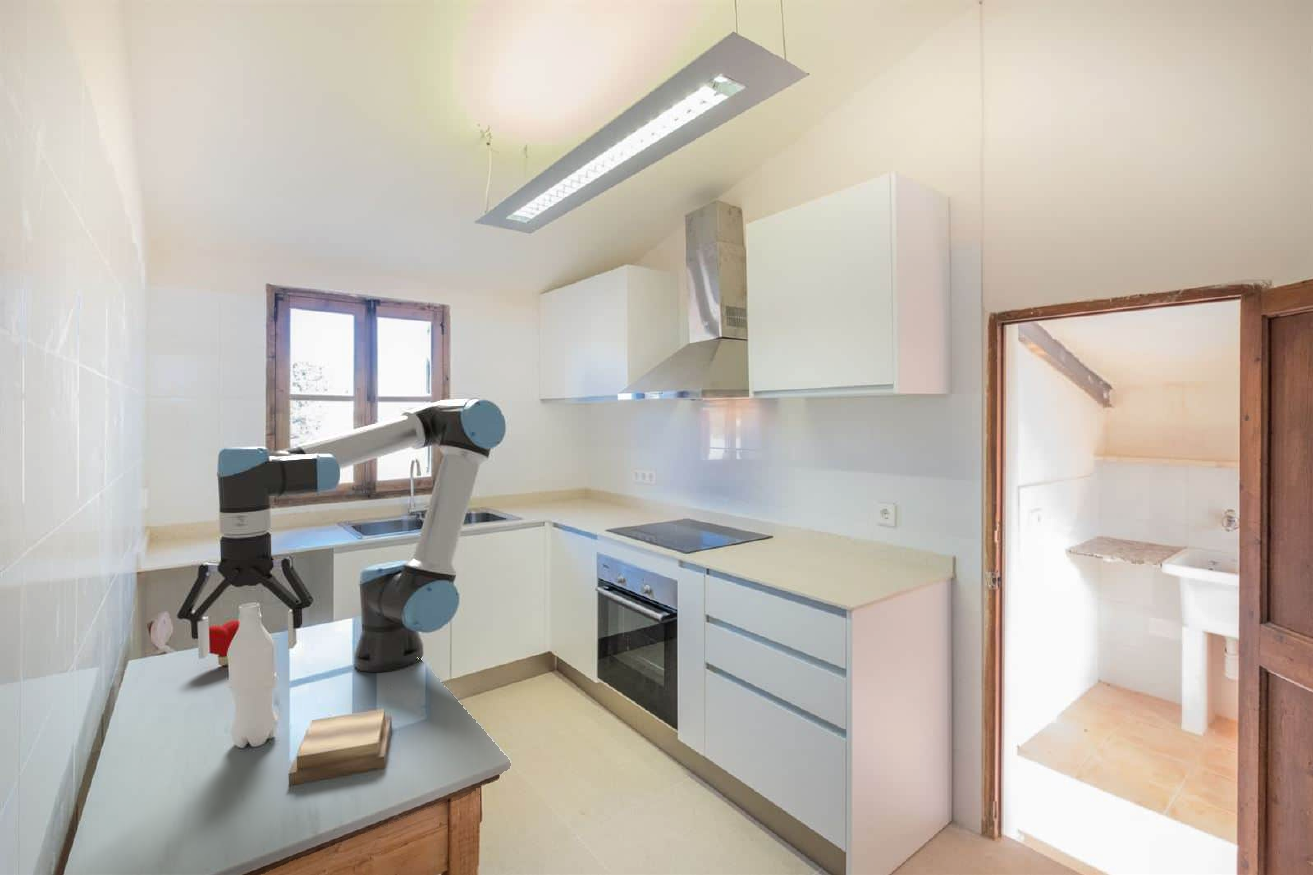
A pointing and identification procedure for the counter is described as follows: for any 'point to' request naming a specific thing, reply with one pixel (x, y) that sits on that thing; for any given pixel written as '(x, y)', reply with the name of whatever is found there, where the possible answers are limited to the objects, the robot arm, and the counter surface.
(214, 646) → the red heart on stem
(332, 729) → the oak slab
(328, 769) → the walnut slab
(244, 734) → the water bottle
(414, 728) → the counter surface
